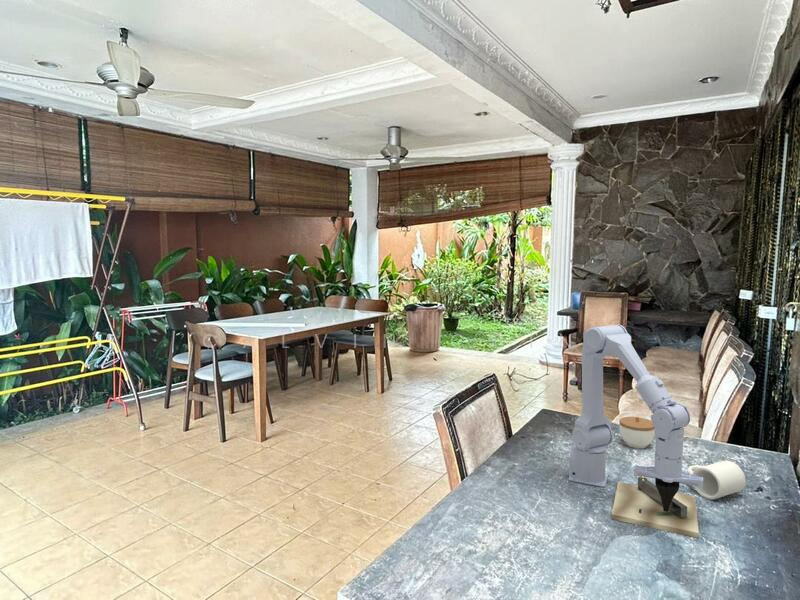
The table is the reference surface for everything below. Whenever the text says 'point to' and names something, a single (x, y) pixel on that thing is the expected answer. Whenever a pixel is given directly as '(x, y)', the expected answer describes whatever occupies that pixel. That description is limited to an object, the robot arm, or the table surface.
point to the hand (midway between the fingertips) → (665, 509)
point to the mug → (718, 479)
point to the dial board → (653, 511)
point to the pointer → (653, 492)
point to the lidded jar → (637, 431)
